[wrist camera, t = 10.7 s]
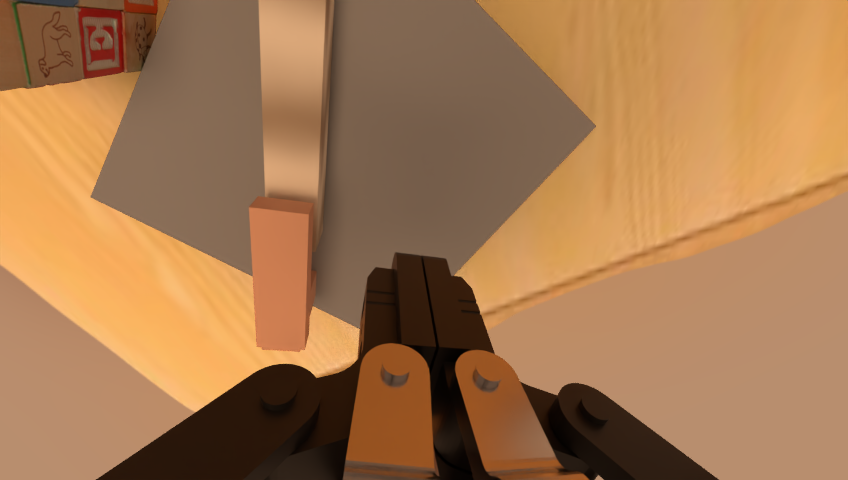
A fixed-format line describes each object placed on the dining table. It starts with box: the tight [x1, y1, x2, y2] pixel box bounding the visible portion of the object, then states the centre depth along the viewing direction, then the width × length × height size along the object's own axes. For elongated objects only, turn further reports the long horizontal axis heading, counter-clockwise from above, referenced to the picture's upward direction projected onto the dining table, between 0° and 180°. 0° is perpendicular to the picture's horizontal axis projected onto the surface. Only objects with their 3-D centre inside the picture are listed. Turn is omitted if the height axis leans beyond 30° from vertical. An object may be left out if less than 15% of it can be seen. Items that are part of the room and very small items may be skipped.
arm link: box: [259, 0, 334, 252], centre depth 19 cm, size 19×4×4 cm, turn 170°
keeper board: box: [91, 0, 596, 352], centre depth 22 cm, size 24×24×8 cm
